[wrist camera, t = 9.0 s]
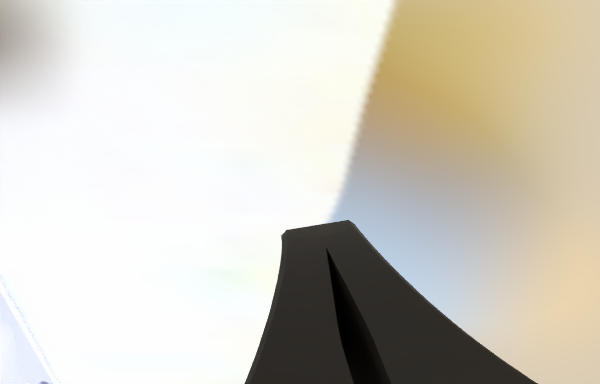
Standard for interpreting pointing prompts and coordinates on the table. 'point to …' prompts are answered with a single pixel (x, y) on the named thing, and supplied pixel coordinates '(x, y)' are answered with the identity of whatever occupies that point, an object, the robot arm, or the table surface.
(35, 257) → the table surface
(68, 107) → the table surface
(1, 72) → the table surface
